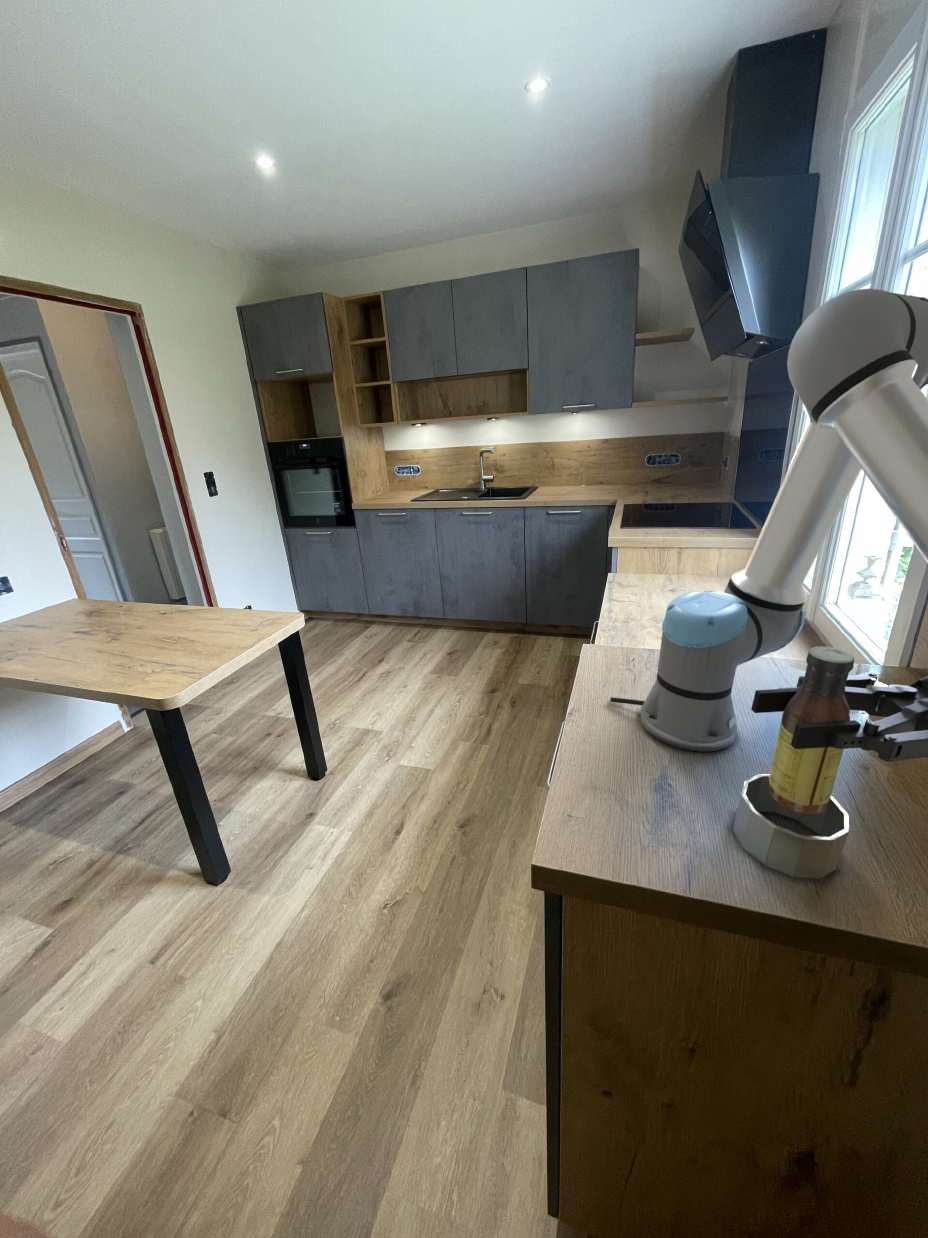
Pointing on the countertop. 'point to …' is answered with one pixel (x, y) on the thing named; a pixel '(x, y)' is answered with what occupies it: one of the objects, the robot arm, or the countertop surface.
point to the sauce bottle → (811, 772)
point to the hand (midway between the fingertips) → (774, 718)
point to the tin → (789, 833)
